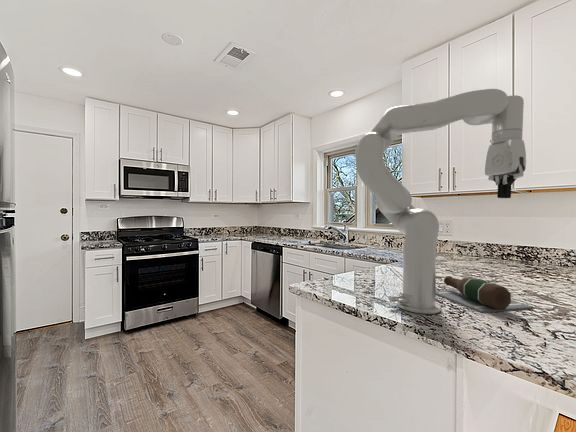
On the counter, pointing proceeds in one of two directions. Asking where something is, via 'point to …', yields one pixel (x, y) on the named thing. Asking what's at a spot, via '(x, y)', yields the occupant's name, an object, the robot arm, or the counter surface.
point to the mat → (460, 299)
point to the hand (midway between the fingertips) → (504, 197)
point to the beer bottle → (481, 292)
